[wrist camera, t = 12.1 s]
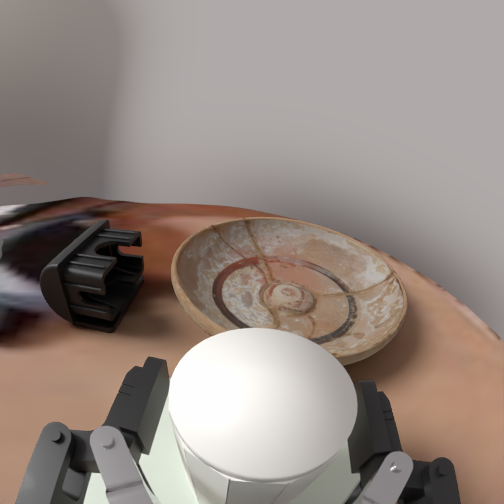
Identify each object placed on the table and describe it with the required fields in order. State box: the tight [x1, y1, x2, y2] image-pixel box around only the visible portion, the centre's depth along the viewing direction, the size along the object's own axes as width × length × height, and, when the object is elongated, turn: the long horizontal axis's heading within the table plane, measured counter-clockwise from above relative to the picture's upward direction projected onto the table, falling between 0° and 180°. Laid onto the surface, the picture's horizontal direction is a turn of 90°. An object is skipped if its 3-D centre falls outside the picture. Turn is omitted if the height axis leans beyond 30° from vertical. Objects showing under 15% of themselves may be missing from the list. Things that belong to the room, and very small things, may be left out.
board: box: [83, 378, 360, 504], centre depth 13 cm, size 18×14×1 cm
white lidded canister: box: [168, 328, 357, 504], centre depth 11 cm, size 6×6×10 cm
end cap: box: [40, 220, 144, 333], centre depth 25 cm, size 10×7×7 cm
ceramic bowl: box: [171, 217, 408, 366], centre depth 29 cm, size 23×24×5 cm
